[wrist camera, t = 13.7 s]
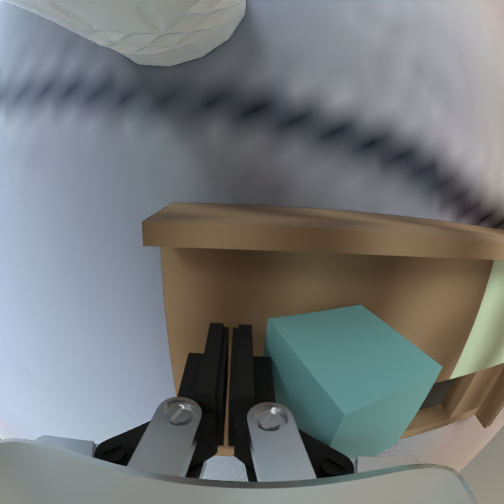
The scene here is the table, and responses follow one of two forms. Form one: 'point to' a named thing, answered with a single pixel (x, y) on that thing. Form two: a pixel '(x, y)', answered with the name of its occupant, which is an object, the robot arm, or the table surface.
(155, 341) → the table surface
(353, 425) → the block
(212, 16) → the white cup
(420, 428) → the board
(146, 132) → the table surface
